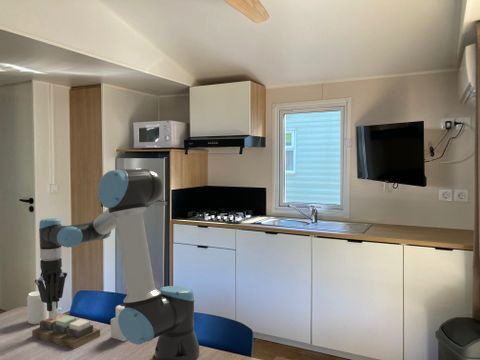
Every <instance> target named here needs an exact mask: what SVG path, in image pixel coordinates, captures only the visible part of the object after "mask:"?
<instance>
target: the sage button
mask: <svg viewBox="0 0 480 360" xmlns="http://www.w3.org/2000/svg"><path fill="white" fill-rule="evenodd" d="M75 321H77V319H76V317H74V316H69V315H65V316H62V318H60V319H57V320H56V325H57V326H61V327H67V326H69V324H70V323H72V322H75Z"/></svg>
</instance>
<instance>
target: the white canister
mask: <svg viewBox="0 0 480 360" xmlns="http://www.w3.org/2000/svg"><path fill="white" fill-rule="evenodd" d="M27 295H28V296H27V298H26V301H27V302H26V305H27V306H26V309H27V323H28V324H31V325H40V321H42V320H44V319H47V318H49V312H48V311H47V303H44V302H42V301H41V297H40V293H39V290H35V291H31V292H30V293H28V294H27Z"/></svg>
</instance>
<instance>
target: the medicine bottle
mask: <svg viewBox="0 0 480 360" xmlns="http://www.w3.org/2000/svg"><path fill="white" fill-rule="evenodd" d="M123 309H124V303H120V304H118V305H116V306H115V317H113V318H111V319H110V337H111V338H112V339H115V340H117V341H121V342H126V341H128V340H127V339H126V338H125V337H124V335H123V334H122V332H121V330H120V327H119V323H118V317H119V314H120V312H121V311H122V310H123Z"/></svg>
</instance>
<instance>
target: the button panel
mask: <svg viewBox="0 0 480 360" xmlns="http://www.w3.org/2000/svg"><path fill="white" fill-rule="evenodd" d="M57 317H59V316H57ZM60 317H61V316H60ZM62 317H63V316H62ZM62 317H61V318H62ZM31 335H32V338H37V339H39V340H43V341H46V342H49V343H52V344H55V345H60V346H63V347H66V348H70V349H73V350H75V349H77V348H79V347H81V346H83V345H86V344H88V343H90V342H91V341H93V340H95V339H98V338H99V337H101V329H99V328H96V327H94V325H93V324H90V326H89V327H87V328H85V329H83V330H80V331H76V330H73V329H70V327H69V326H67V327H61V326H57V325H56V322H55V323H52V324H50V323H46V322H43V320H42V321H40V324H39V327H37V328H34V329H32V332H31Z"/></svg>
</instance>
